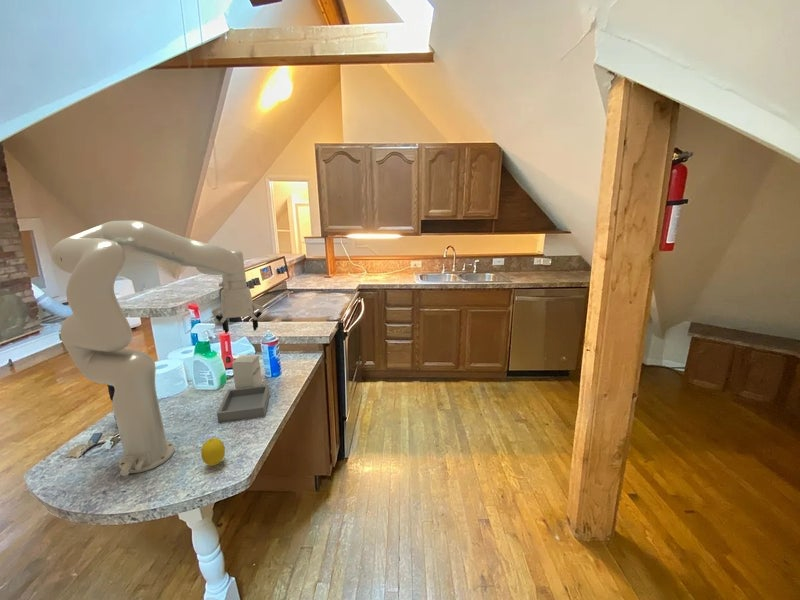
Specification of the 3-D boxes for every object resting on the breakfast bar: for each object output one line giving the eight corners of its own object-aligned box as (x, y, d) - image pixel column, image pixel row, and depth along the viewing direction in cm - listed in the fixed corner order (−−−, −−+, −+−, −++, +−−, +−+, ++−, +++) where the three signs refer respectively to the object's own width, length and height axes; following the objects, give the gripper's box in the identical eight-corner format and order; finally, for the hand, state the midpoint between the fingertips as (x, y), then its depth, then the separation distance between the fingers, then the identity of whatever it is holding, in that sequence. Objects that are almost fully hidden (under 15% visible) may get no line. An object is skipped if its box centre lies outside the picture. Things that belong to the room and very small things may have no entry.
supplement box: (255, 393, 133) (251, 362, 130) (235, 393, 133) (230, 362, 130) (262, 384, 140) (259, 354, 137) (244, 384, 140) (240, 354, 137)
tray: (264, 416, 118) (263, 407, 117) (218, 423, 115) (216, 413, 114) (269, 393, 133) (268, 384, 132) (229, 398, 130) (227, 389, 129)
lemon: (201, 474, 92) (196, 447, 90) (206, 460, 98) (201, 434, 96) (225, 469, 94) (220, 443, 92) (228, 456, 99) (224, 430, 97)
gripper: (205, 288, 121) (213, 336, 126) (259, 285, 125) (265, 331, 130) (211, 284, 128) (218, 329, 133) (262, 281, 132) (267, 325, 137)
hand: (241, 330), depth 131 cm, fingers open, 9 cm apart
